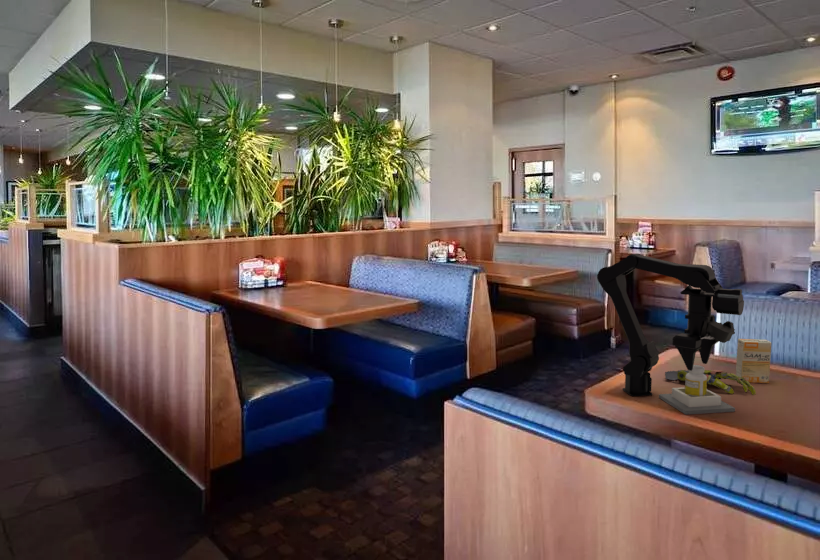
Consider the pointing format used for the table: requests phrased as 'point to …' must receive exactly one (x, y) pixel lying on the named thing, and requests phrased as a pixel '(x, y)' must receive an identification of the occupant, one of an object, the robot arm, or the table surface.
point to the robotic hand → (714, 379)
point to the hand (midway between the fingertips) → (697, 366)
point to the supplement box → (753, 360)
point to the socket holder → (696, 402)
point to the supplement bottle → (696, 382)
